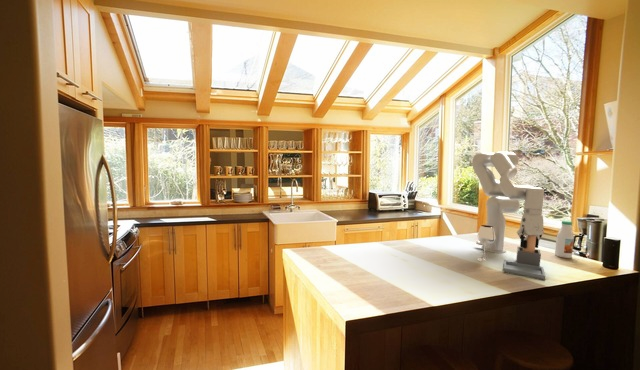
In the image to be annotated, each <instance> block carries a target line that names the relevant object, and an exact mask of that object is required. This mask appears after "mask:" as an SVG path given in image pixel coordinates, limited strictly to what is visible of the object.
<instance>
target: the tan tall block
mask: <svg viewBox="0 0 640 370" xmlns="http://www.w3.org/2000/svg"><path fill="white" fill-rule="evenodd" d="M524 237H525V235H524ZM526 240H527V248H523V251H525V252H531V253H535V249H536V248H535V244H536V235H528V237H527V239H526Z"/></svg>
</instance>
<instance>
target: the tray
mask: <svg viewBox="0 0 640 370" xmlns="http://www.w3.org/2000/svg"><path fill="white" fill-rule="evenodd" d="M502 271H503V272H502V273H506V274H511V275H514V276H515V275H516V276H521V277H526V278H531V279H536V280H541V281H546V274H545V273H546V272H545V269H544V266H540V267H539V266H533V265H527V264H522V263H516V261H509V260H504V262H503V270H502Z"/></svg>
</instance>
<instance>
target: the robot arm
mask: <svg viewBox="0 0 640 370" xmlns="http://www.w3.org/2000/svg"><path fill="white" fill-rule="evenodd" d="M471 160H472V161H471V162H472V163H471V164H472V169H473V171H474V173H475V175H476V177H477V178H478V180H479V183H480V185H481V188H482V190H483V193H484V194H485V196H488V197H489V198H488V199H487V200H486V225H488V226H493V227H494V232H495V241H494V242H493V243H491V244H490V245H488V246H487V247H486V252H491V253H496V254H504V253H507V250H506V249H505V248H504V243H505V233H506V225H507V224H506V223H507V221H506V220H507V219H506V217H505V216H504V214H514V213H518V211H519V210H520V207H521V205H520V200H521V201H524V205H523V207H524V208H523V210H522V212H523V214H522V216H521V220H520V225H519V229H518V230H517V231H516V234H517V236H518V237H519V239H520V243H519V244H520V246H519V247H522V248H527V240H526V239H527V237H528V235H536V244H535V249H538V248H539V243H540V242H539V241H540V240H541V238H542V237H543V235H544V234H545V231H544V217H543V215H542V213H543V205H544V204H543V203H544V198H545V197H544V196H545V190H544V188H542V187H537V186H532V185H521V184H519V185H518V184H513V182H512V181H511V180H510V179H513V178H514V177H515V176H517V173H518V168H517V167H516V166H517V165H518V164H519V156H518V155H517V154H516V153H514V152H511V151H510V152H509V151H497V152H485V151H483V152H478V153H476V154H474V155H473V157H472V159H471ZM488 167H490V168H494V169H496V172H497V173H498V174H499V177H500V179H499V180H498V179H497V178H496V176H495V174H494V172H493V171H492V170H491V169H489V168H488ZM524 235H525V237H524ZM475 243H476V245H477V246H481V250H483V251H484V245H483V244H482V243H481V242H480V241H479V240H476V242H475Z"/></svg>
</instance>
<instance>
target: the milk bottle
mask: <svg viewBox="0 0 640 370" xmlns="http://www.w3.org/2000/svg"><path fill="white" fill-rule="evenodd" d="M572 226H573V221H570V220H562V221H561V227H560V229H559V231H558V232H557V234H556V235H557V236H556V241H555V249H554V254H555V256H557V257H560V258H565V259H572V257H573V251H574V250H573V249H574V243H575V242H574V241H575V235H574V232H573V230H572Z"/></svg>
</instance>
